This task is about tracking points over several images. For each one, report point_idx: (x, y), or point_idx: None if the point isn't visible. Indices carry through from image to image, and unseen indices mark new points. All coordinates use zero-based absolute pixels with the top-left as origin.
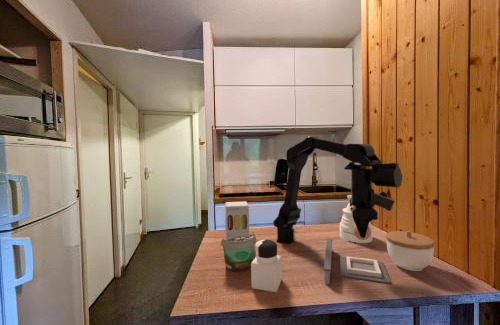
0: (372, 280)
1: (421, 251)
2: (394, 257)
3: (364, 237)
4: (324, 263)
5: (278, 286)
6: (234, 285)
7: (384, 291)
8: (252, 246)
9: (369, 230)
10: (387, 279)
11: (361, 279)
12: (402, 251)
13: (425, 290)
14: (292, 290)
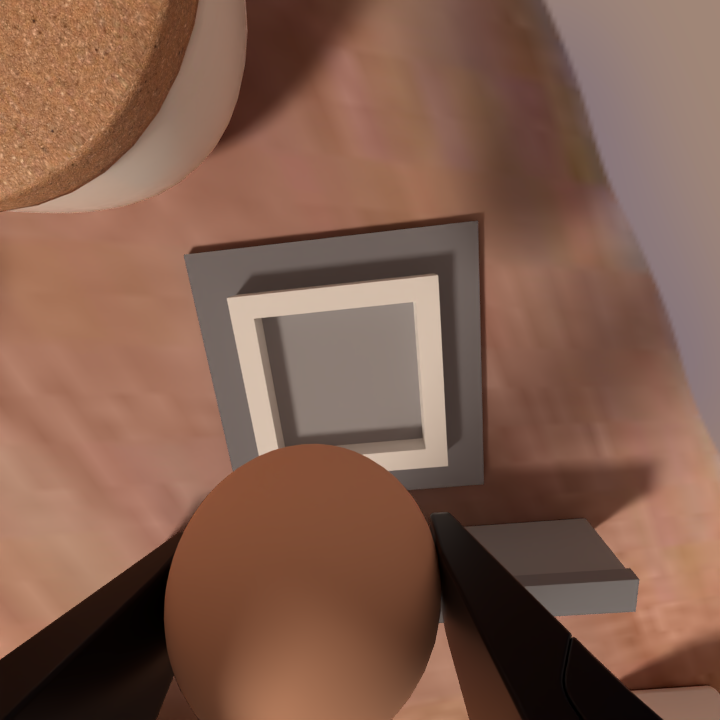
0: (479, 324)
1: None
2: (201, 161)
3: (447, 516)
4: (564, 615)
5: (685, 695)
6: None
7: (574, 264)
8: None
9: (367, 518)
10: (443, 239)
11: (480, 380)
12: (218, 54)
13: (484, 6)
14: (677, 639)
